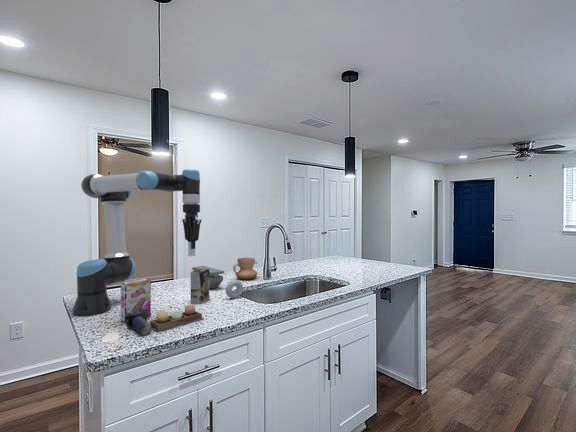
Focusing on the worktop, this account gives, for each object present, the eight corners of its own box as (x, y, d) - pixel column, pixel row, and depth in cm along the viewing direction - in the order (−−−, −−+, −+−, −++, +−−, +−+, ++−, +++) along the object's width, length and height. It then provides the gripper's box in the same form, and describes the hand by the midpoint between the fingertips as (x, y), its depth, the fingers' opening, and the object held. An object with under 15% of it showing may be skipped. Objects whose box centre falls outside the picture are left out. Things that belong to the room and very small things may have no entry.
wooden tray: (148, 326, 126) (148, 320, 126) (193, 314, 140) (193, 309, 140) (157, 332, 120) (157, 326, 120) (203, 319, 134) (203, 313, 134)
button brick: (183, 312, 134) (182, 306, 134) (191, 310, 137) (191, 304, 137) (187, 314, 131) (187, 308, 131) (196, 312, 134) (196, 306, 134)
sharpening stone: (224, 289, 187) (224, 270, 187) (212, 291, 181) (212, 272, 181) (203, 282, 205) (203, 265, 205) (192, 284, 199) (192, 267, 199)
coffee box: (201, 304, 156) (201, 272, 156) (190, 303, 158) (189, 271, 157) (210, 299, 165) (209, 268, 165) (198, 298, 167) (198, 268, 166)
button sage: (169, 320, 130) (169, 314, 130) (179, 317, 133) (179, 311, 133) (174, 322, 127) (174, 316, 127) (183, 320, 130) (183, 313, 130)
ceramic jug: (254, 275, 226) (253, 256, 225) (262, 279, 213) (261, 258, 213) (230, 278, 217) (229, 258, 217) (236, 282, 204) (236, 261, 204)
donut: (227, 300, 162) (227, 281, 162) (224, 299, 165) (224, 280, 165) (244, 297, 169) (244, 278, 168) (240, 296, 171) (240, 277, 171)
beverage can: (127, 332, 124) (138, 343, 115) (123, 314, 122) (134, 324, 114) (149, 322, 130) (162, 331, 121) (146, 305, 128) (158, 313, 120)
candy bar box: (125, 323, 130) (125, 284, 129) (120, 321, 133) (119, 282, 132) (151, 316, 138) (151, 279, 138) (146, 314, 141) (145, 278, 141)
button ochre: (155, 319, 125) (155, 313, 125) (165, 317, 128) (165, 310, 128) (159, 322, 123) (159, 315, 123) (170, 319, 126) (170, 313, 126)
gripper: (206, 203, 139) (206, 256, 139) (191, 204, 148) (192, 253, 148) (191, 203, 134) (191, 258, 134) (176, 204, 143) (177, 255, 143)
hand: (191, 255), depth 141 cm, fingers closed
